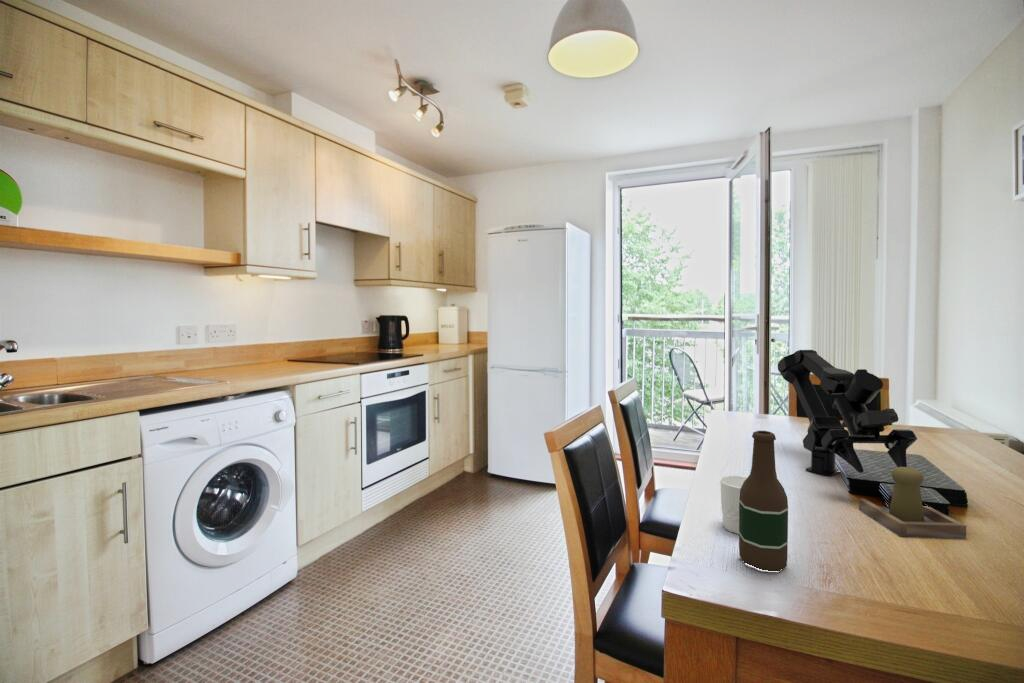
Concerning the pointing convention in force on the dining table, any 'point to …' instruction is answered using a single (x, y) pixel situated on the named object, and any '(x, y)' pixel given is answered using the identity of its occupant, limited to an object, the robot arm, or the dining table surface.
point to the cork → (907, 495)
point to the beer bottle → (763, 510)
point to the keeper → (916, 523)
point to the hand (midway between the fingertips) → (883, 472)
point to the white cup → (731, 501)
